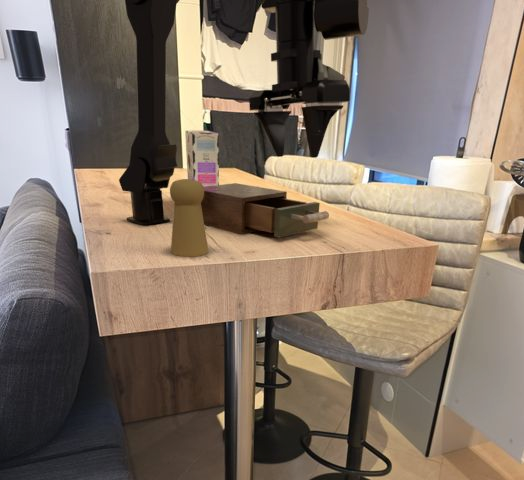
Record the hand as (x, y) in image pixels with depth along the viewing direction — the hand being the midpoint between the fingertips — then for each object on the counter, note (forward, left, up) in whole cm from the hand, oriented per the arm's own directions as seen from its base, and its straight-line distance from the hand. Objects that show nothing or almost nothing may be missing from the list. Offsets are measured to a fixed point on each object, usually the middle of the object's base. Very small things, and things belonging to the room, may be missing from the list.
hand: (296, 156), depth 75 cm
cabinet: (-17, +4, -14) cm, 22 cm away
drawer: (-6, +4, -13) cm, 15 cm away
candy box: (-35, +10, -14) cm, 39 cm away
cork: (-7, -17, -14) cm, 24 cm away
